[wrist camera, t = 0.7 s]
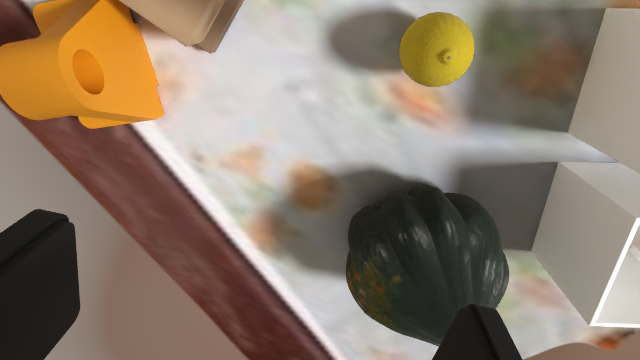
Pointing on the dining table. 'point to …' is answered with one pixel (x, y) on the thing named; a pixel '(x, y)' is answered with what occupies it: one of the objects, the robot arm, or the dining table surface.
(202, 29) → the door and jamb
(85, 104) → the bracket
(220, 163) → the dining table surface
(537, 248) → the storage container
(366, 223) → the squash
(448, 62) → the lemon
